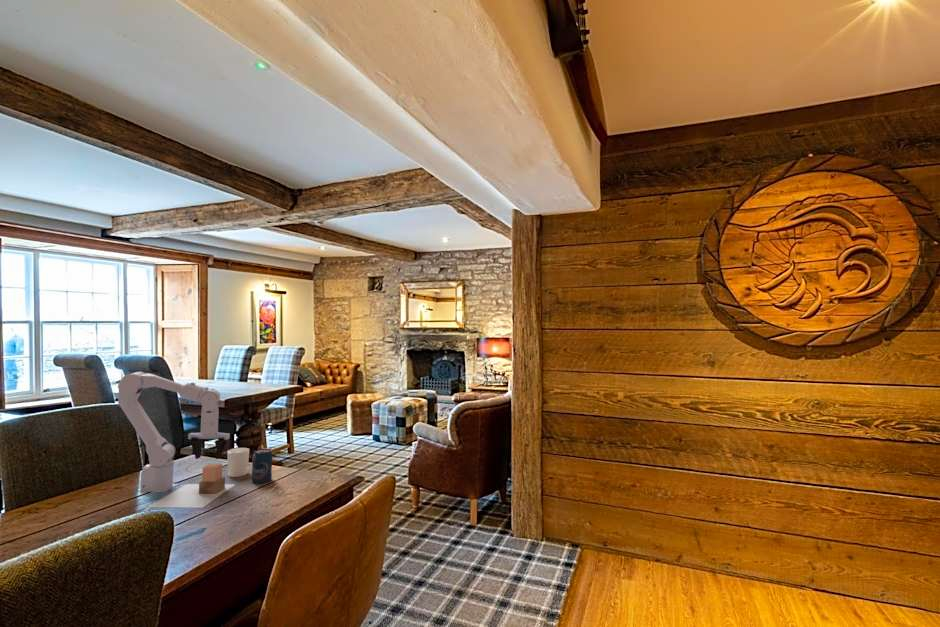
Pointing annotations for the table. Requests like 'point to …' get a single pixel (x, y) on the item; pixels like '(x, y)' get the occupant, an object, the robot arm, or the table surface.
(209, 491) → the base block
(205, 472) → the top block
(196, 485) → the white flat board
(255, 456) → the soda can
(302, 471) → the table surface
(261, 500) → the table surface
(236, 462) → the white cup
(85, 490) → the table surface
